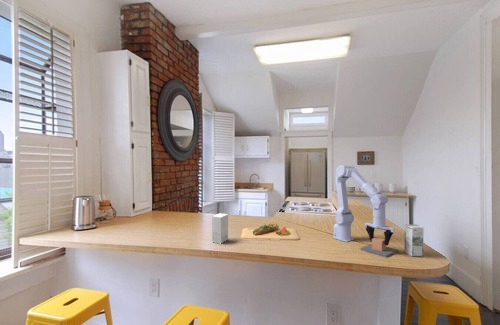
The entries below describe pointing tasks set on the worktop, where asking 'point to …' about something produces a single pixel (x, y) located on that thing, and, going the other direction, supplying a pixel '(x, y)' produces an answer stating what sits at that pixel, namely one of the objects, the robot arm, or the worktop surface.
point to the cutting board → (270, 233)
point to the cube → (378, 244)
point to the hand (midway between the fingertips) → (379, 243)
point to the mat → (383, 253)
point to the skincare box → (219, 228)
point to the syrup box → (414, 240)
